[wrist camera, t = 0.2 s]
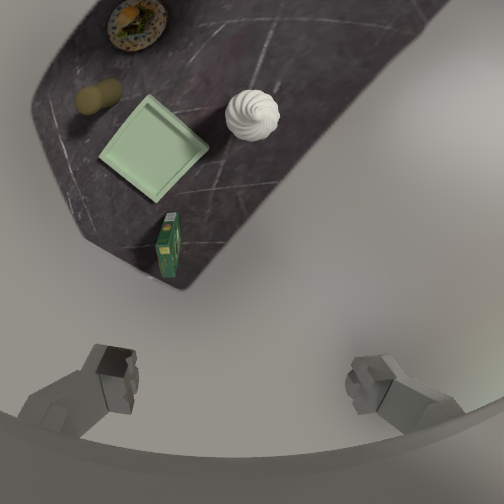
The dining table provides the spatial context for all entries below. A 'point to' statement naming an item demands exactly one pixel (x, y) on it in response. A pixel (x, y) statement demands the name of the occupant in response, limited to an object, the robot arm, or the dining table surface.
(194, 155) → the tray
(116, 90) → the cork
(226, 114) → the soft serve ice cream cone
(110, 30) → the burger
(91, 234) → the dining table surface
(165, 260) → the coffee box
